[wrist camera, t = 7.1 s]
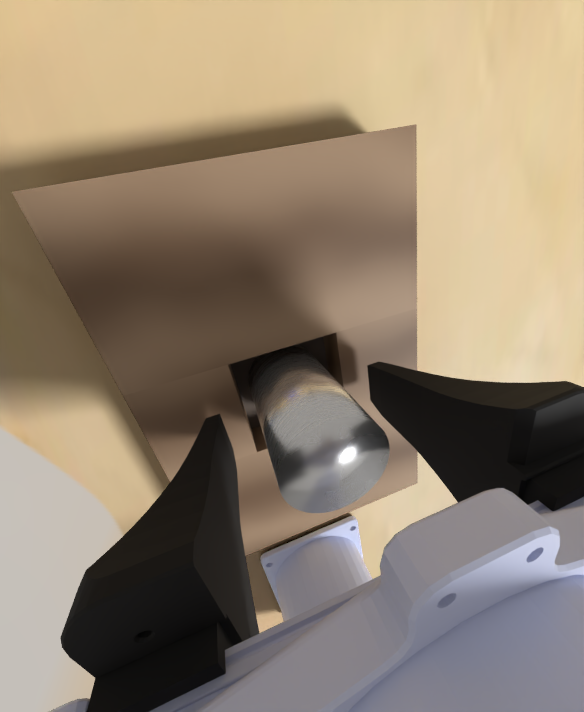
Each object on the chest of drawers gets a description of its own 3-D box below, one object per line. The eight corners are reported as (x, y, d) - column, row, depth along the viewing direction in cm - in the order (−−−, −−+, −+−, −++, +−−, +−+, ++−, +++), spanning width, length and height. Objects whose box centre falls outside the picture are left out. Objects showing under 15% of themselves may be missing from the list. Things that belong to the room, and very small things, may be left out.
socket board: (395, 457, 21) (417, 483, 19) (215, 529, 19) (217, 567, 17) (380, 144, 13) (416, 124, 11) (52, 202, 10) (11, 191, 8)
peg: (322, 394, 17) (392, 485, 10) (259, 417, 16) (293, 529, 10) (310, 333, 15) (385, 399, 9) (238, 356, 14) (264, 445, 8)
